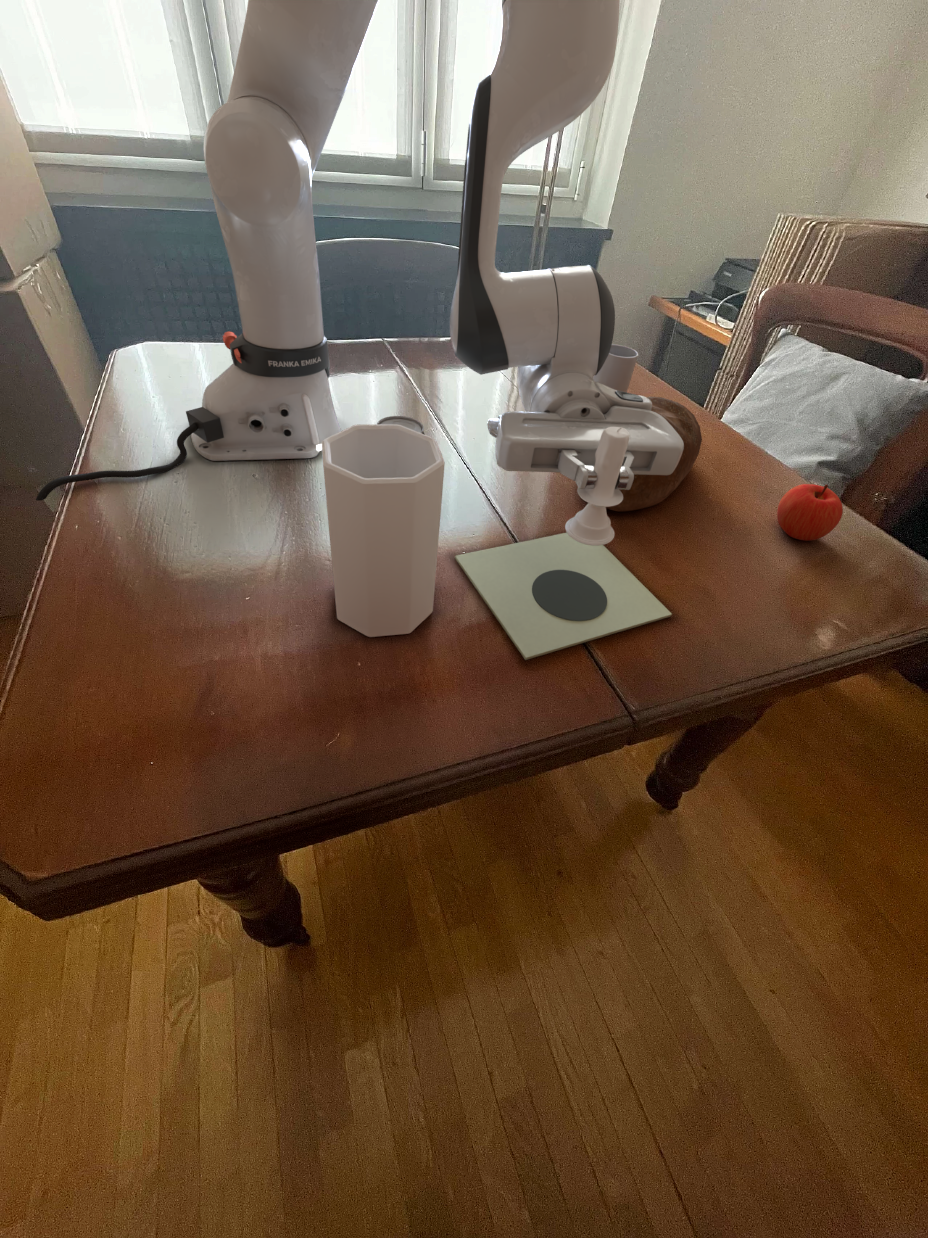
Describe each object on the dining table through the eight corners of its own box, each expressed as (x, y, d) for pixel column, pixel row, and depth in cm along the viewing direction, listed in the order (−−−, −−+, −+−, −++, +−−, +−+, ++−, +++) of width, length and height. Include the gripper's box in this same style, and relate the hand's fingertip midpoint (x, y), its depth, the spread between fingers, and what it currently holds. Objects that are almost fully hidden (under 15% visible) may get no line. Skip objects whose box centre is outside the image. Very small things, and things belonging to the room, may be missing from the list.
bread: (551, 492, 82) (569, 419, 74) (621, 429, 100) (641, 365, 92) (650, 533, 76) (680, 459, 69) (704, 458, 95) (733, 393, 87)
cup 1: (420, 648, 57) (430, 493, 44) (317, 627, 57) (297, 468, 44) (442, 581, 65) (456, 433, 52) (351, 563, 65) (342, 413, 52)
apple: (773, 511, 84) (801, 464, 79) (828, 532, 82) (860, 485, 76) (761, 533, 79) (789, 484, 74) (819, 556, 77) (853, 507, 71)
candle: (624, 537, 59) (660, 431, 50) (588, 552, 56) (619, 444, 48) (590, 512, 62) (618, 408, 53) (554, 525, 59) (578, 419, 51)
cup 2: (614, 407, 107) (628, 360, 101) (571, 391, 111) (581, 344, 105) (630, 398, 112) (644, 352, 105) (588, 382, 116) (599, 337, 109)
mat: (525, 660, 57) (526, 657, 57) (454, 558, 68) (455, 554, 68) (671, 616, 64) (672, 613, 64) (585, 530, 75) (586, 527, 75)
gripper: (488, 389, 60) (509, 450, 50) (661, 397, 63) (714, 456, 53) (481, 442, 64) (500, 508, 55) (644, 448, 67) (689, 511, 58)
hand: (607, 483), depth 54 cm, fingers closed on candle, 2 cm apart
